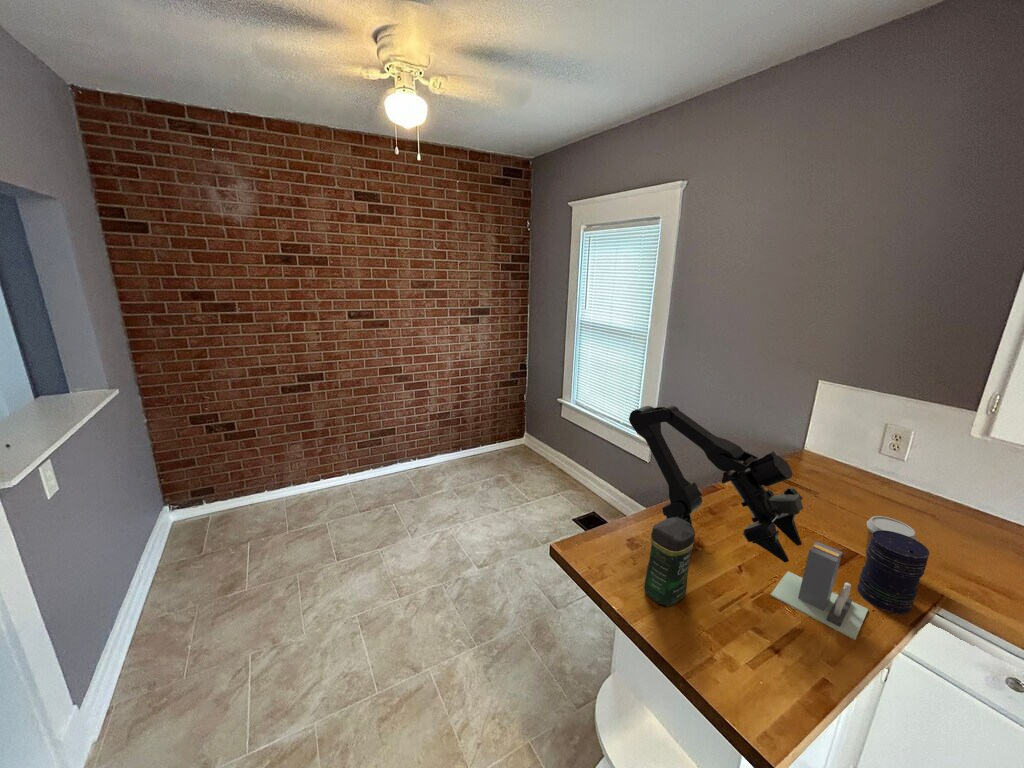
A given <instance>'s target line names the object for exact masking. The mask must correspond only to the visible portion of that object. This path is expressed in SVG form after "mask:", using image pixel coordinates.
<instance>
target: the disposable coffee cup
mask: <svg viewBox="0 0 1024 768" xmlns="http://www.w3.org/2000/svg"><path fill="white" fill-rule="evenodd" d="M866 526H867V533H866V534H867V535H866V543H865V544H866V545H865V554H864V555H865V556H864V564H865V563H866V560H867V550H868V546H869V543H870V541H871V538H872V534H873V532H875V531H879V530H885V531H892V532H896V533H900V534H903V535H905V536H908V537H910V538H912V539H915V540H916V541H917V539H918V538H917V535H916V532H915V529H914V528H912V527H911V526H909V525H908V524H906V523H905V522H902V521H900V520H898V519H894V518H892V517H888V516H887V517H886V516H881V515H879V516H878V515H874V516H872V517H870V518H869V520H867V521H866Z"/></svg>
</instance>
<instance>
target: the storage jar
mask: <svg viewBox="0 0 1024 768" xmlns="http://www.w3.org/2000/svg"><path fill="white" fill-rule="evenodd" d="M929 557H930V550H929V548H928V547H927V546H925V545H924V544H923V543H921V542H920V541H918V540H917V539H916V540H915V539H912V538H910V537H908V536H905V535H903V534H900V533H896V532H892V531H885V530H879V531H875V532H873V534H872V538H871V541H870V543H869V546H868V550H867V560H866V563H865V562H864V566H863V567H862V569H861V572H860V574H859V580H858V584H857V592H858V594H859V595H860V596H861V597H862V599H864V600H865V602H868V603H869V604H870V605H872V606H873V607H876V608H878V609H880V610H883V611H885V612H888V613H891V614H894V615H907V614H909V613H911V611H912V607H913V604H914V603H915V602H916V598H917V594H918V585H919V583H920V580H921V578H923V575H924V574H925V570H926V568H927V565H928V561H929Z"/></svg>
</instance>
